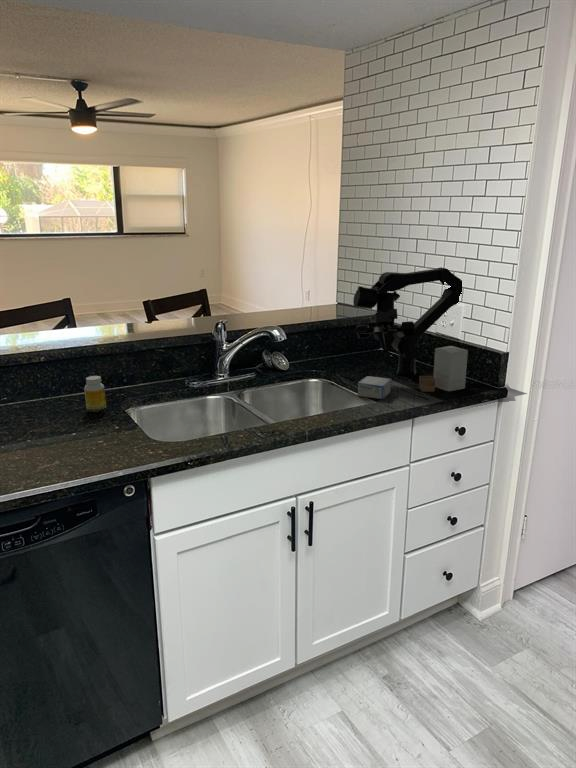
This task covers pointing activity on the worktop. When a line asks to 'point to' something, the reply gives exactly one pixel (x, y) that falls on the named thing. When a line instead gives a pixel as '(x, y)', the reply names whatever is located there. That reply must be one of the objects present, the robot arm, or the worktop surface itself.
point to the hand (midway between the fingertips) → (385, 354)
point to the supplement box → (450, 368)
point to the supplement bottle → (94, 393)
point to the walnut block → (427, 383)
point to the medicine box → (374, 387)
